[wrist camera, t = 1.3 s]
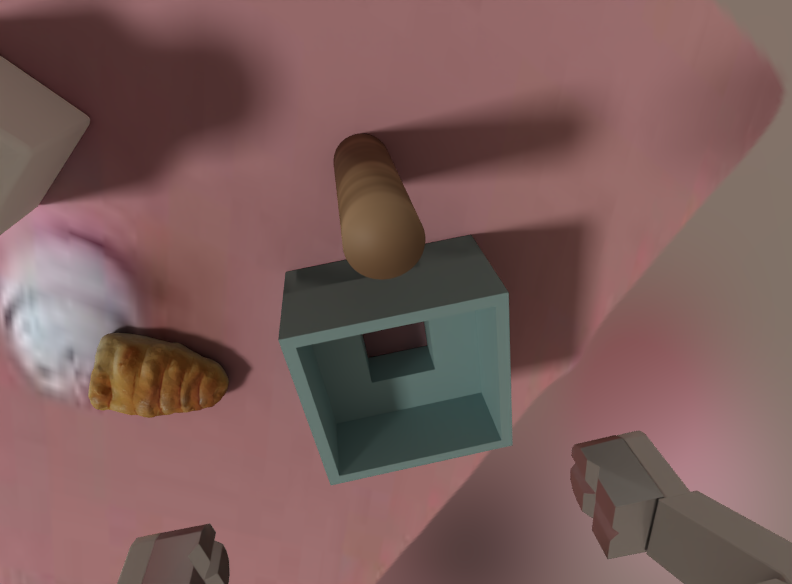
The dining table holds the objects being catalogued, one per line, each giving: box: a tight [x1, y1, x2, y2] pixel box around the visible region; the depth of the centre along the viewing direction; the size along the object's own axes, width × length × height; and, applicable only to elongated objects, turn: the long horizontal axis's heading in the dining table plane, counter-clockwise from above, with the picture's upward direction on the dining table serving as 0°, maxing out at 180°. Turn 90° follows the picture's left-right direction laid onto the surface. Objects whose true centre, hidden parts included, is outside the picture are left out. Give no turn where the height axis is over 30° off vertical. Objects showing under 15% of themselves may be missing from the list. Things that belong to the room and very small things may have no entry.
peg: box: [334, 134, 425, 280], centre depth 26 cm, size 4×4×12 cm
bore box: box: [278, 235, 512, 485], centre depth 35 cm, size 14×14×8 cm
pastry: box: [88, 333, 229, 418], centre depth 36 cm, size 9×7×4 cm
